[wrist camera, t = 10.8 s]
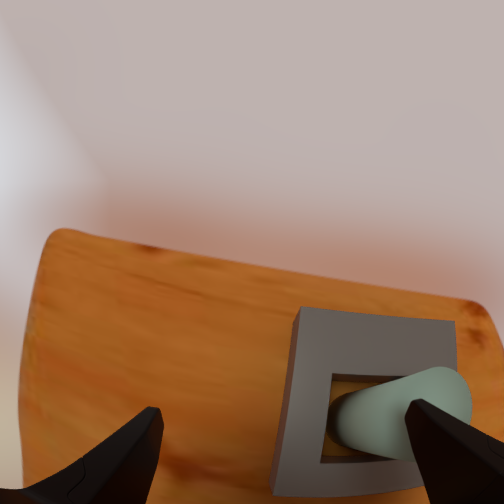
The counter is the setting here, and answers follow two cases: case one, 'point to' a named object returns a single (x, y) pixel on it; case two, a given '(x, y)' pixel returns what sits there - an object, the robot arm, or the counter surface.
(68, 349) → the counter surface
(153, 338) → the counter surface
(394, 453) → the teal peg
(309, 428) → the socket block
